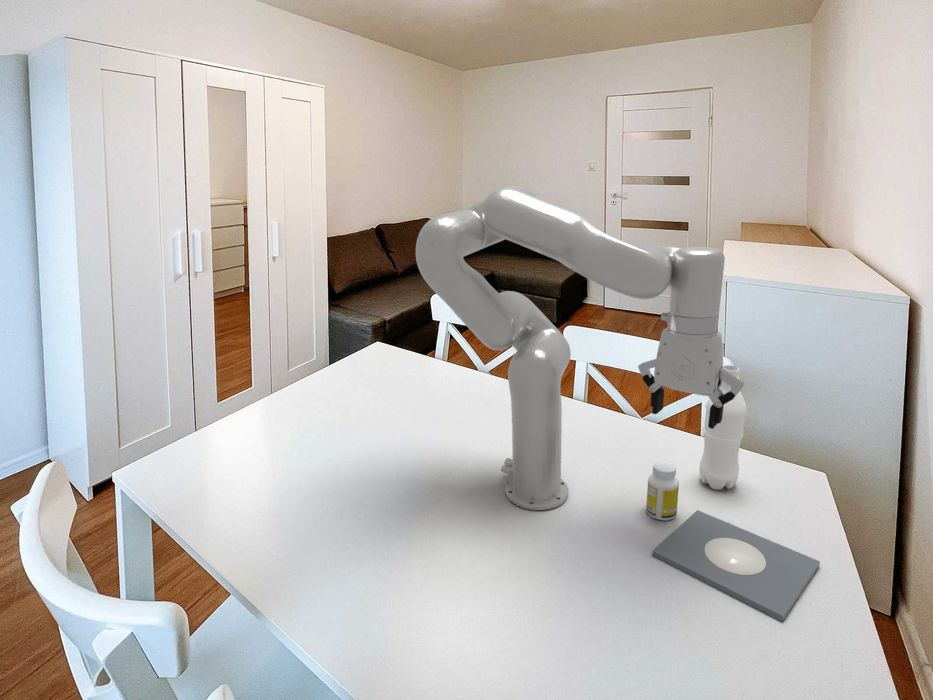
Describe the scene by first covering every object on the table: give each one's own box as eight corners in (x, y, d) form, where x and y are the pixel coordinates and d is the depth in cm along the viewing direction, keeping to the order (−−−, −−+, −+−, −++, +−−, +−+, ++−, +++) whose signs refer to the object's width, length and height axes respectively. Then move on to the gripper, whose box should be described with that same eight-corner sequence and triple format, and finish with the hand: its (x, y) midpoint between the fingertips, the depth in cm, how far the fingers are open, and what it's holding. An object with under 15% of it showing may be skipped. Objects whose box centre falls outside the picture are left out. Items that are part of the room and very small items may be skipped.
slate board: (652, 555, 91) (652, 550, 91) (696, 514, 101) (697, 509, 101) (782, 621, 77) (783, 615, 77) (819, 566, 87) (820, 560, 87)
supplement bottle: (679, 509, 103) (683, 463, 100) (672, 525, 99) (676, 477, 96) (650, 501, 106) (653, 456, 103) (642, 516, 102) (645, 469, 99)
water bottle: (740, 494, 107) (756, 375, 99) (702, 491, 108) (714, 373, 101) (731, 475, 114) (745, 362, 106) (695, 473, 115) (706, 361, 107)
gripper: (633, 321, 93) (628, 413, 98) (742, 337, 82) (730, 440, 87) (651, 312, 98) (645, 400, 103) (756, 325, 87) (744, 423, 92)
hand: (684, 418), depth 95 cm, fingers open, 9 cm apart
